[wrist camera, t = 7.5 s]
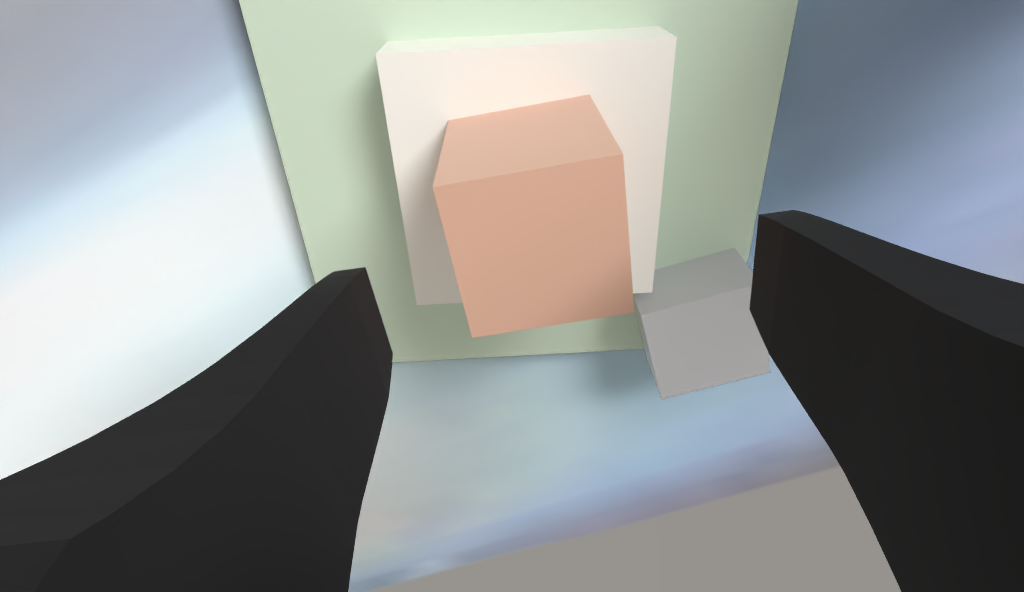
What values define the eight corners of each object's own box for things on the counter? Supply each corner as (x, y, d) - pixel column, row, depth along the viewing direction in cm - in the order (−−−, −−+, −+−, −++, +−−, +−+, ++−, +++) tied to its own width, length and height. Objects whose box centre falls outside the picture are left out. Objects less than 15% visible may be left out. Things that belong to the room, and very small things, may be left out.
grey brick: (734, 247, 21) (761, 283, 19) (745, 331, 23) (770, 372, 21) (626, 277, 22) (640, 315, 20) (646, 357, 24) (661, 399, 22)
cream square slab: (658, 26, 17) (676, 36, 15) (639, 263, 21) (652, 292, 20) (387, 41, 17) (375, 54, 15) (423, 275, 21) (416, 305, 20)
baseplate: (810, -149, 16) (828, -154, 15) (723, 329, 24) (731, 344, 23) (222, -115, 16) (207, -117, 15) (343, 350, 24) (337, 365, 24)
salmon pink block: (589, 94, 16) (622, 153, 12) (602, 223, 18) (634, 312, 14) (448, 120, 16) (432, 187, 12) (477, 244, 18) (471, 337, 14)
